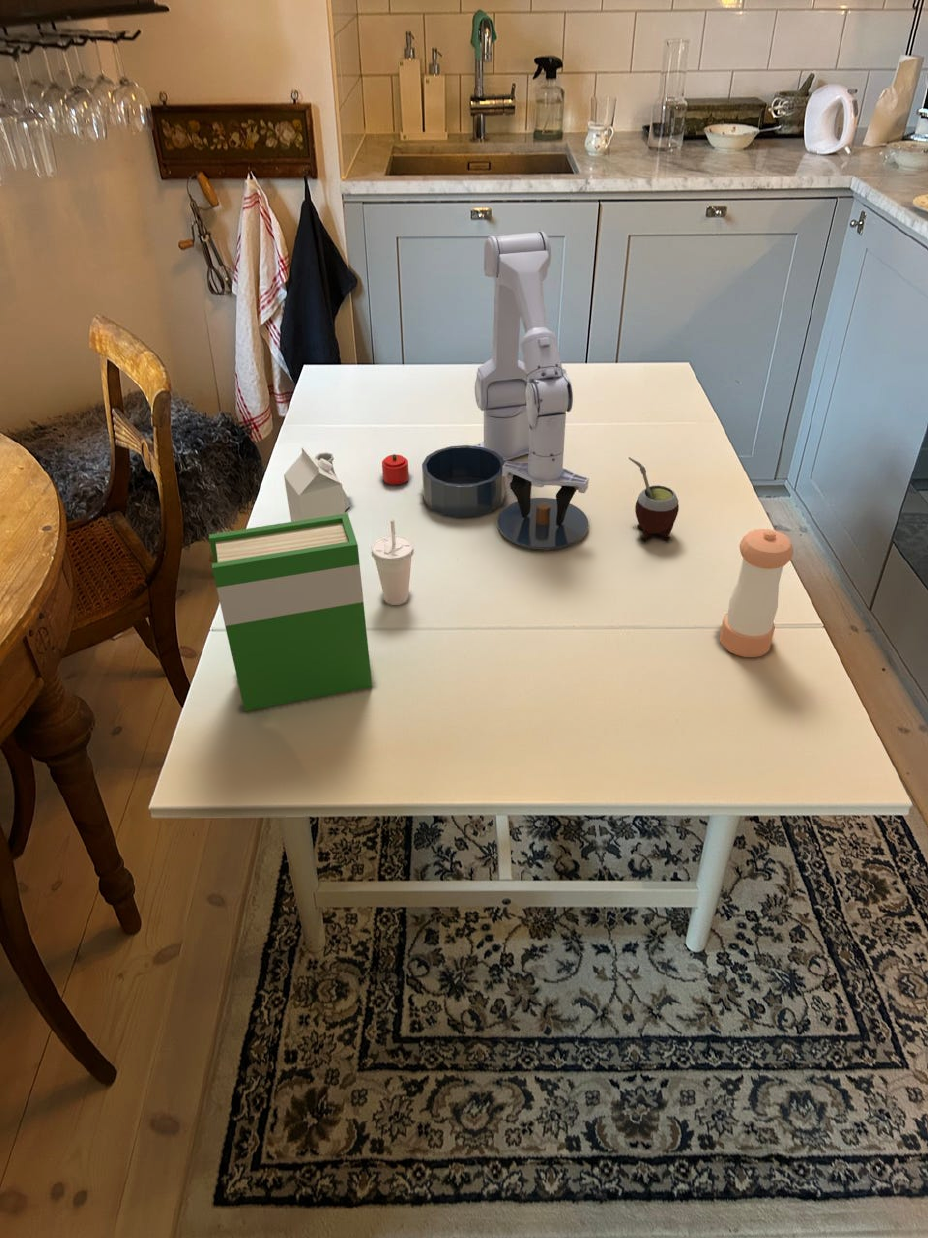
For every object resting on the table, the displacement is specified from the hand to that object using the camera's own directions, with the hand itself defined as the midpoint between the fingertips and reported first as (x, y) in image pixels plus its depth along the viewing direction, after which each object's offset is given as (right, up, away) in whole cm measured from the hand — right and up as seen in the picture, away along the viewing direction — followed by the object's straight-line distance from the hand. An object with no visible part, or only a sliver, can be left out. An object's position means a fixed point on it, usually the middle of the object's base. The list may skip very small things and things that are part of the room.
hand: (542, 518), depth 161 cm
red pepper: (-26, +9, +14) cm, 31 cm away
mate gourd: (+18, -3, -1) cm, 19 cm away
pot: (-14, +5, +9) cm, 17 cm away
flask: (-38, +3, +7) cm, 38 cm away
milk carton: (-37, -7, -6) cm, 38 cm away
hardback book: (-36, -26, -29) cm, 53 cm away
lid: (0, -1, 0) cm, 1 cm away
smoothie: (-24, -14, -14) cm, 31 cm away
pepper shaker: (+28, -21, -23) cm, 42 cm away
